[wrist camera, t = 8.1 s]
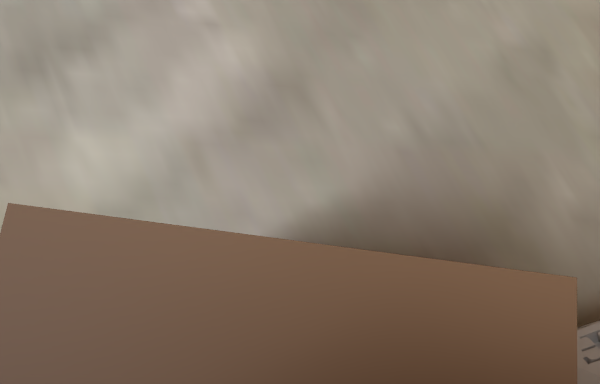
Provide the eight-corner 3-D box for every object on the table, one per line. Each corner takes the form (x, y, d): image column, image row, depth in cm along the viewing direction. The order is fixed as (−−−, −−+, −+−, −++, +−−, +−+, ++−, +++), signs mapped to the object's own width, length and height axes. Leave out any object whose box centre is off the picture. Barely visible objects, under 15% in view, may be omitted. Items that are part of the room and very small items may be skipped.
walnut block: (308, 407, 16) (580, 997, 3) (171, 394, 15) (-209, 1043, 2) (323, 270, 17) (577, 278, 4) (195, 254, 16) (7, 203, 3)
